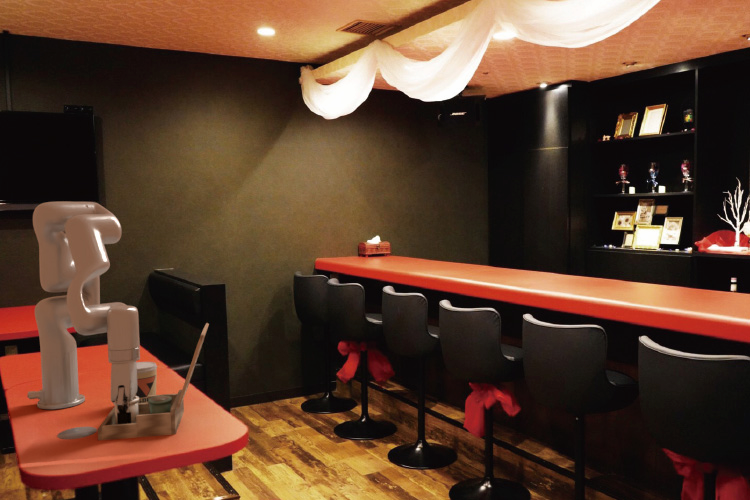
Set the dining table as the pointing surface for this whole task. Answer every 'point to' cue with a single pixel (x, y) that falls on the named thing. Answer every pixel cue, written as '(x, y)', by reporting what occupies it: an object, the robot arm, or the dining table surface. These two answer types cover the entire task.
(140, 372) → the coffee cup
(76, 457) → the dining table surface
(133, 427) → the box
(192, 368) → the frame lid
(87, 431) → the slate saucer
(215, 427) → the dining table surface
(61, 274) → the robot arm
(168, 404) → the green pot
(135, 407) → the cream pot
